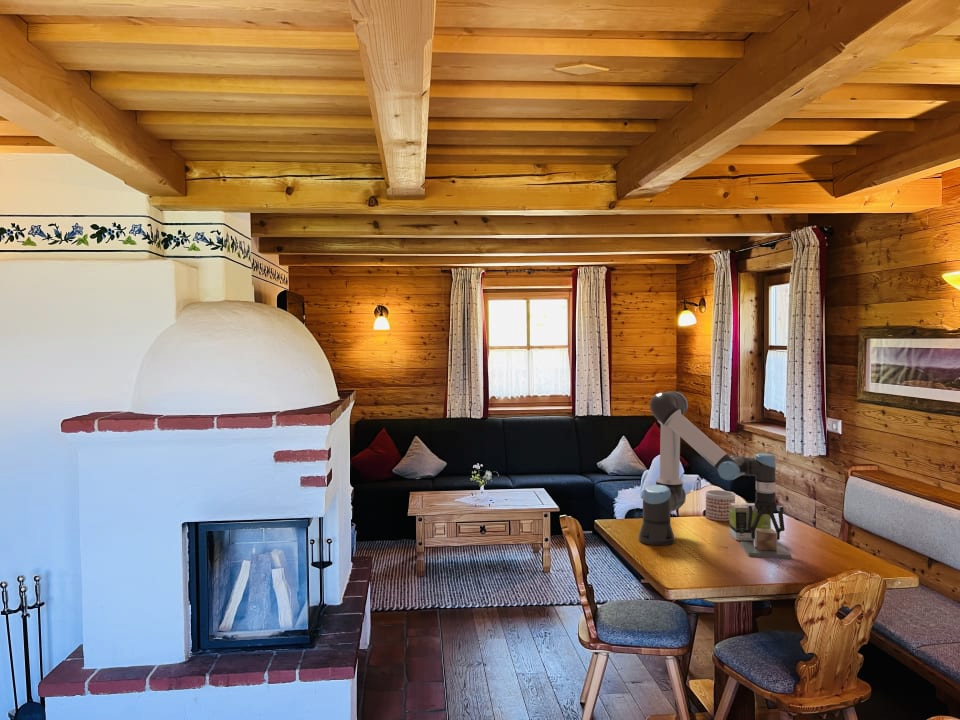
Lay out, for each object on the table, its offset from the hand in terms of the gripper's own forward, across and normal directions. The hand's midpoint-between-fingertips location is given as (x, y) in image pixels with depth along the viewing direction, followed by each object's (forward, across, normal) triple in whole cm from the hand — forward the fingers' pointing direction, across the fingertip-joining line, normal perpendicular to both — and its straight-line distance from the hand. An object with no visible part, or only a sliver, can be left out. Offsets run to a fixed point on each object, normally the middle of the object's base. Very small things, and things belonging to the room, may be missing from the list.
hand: (765, 546), depth 269 cm
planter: (+2, -9, +54) cm, 55 cm away
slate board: (+2, 0, 0) cm, 2 cm away
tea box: (+2, -2, +20) cm, 20 cm away
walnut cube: (0, 0, 0) cm, 0 cm away
